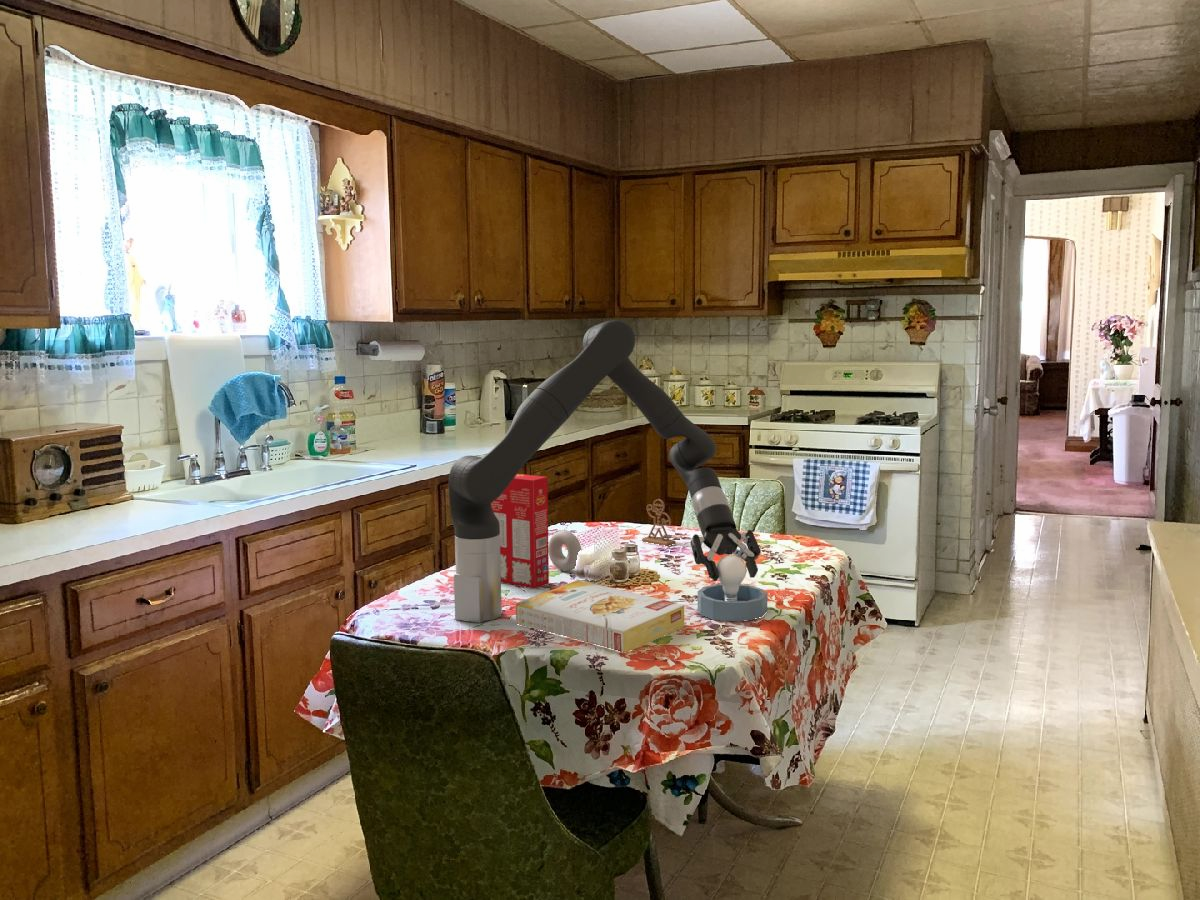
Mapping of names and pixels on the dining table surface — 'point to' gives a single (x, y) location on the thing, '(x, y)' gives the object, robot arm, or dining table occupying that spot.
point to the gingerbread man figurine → (653, 538)
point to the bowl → (732, 603)
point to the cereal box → (601, 615)
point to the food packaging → (524, 531)
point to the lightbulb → (731, 575)
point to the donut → (556, 550)
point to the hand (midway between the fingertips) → (735, 577)
